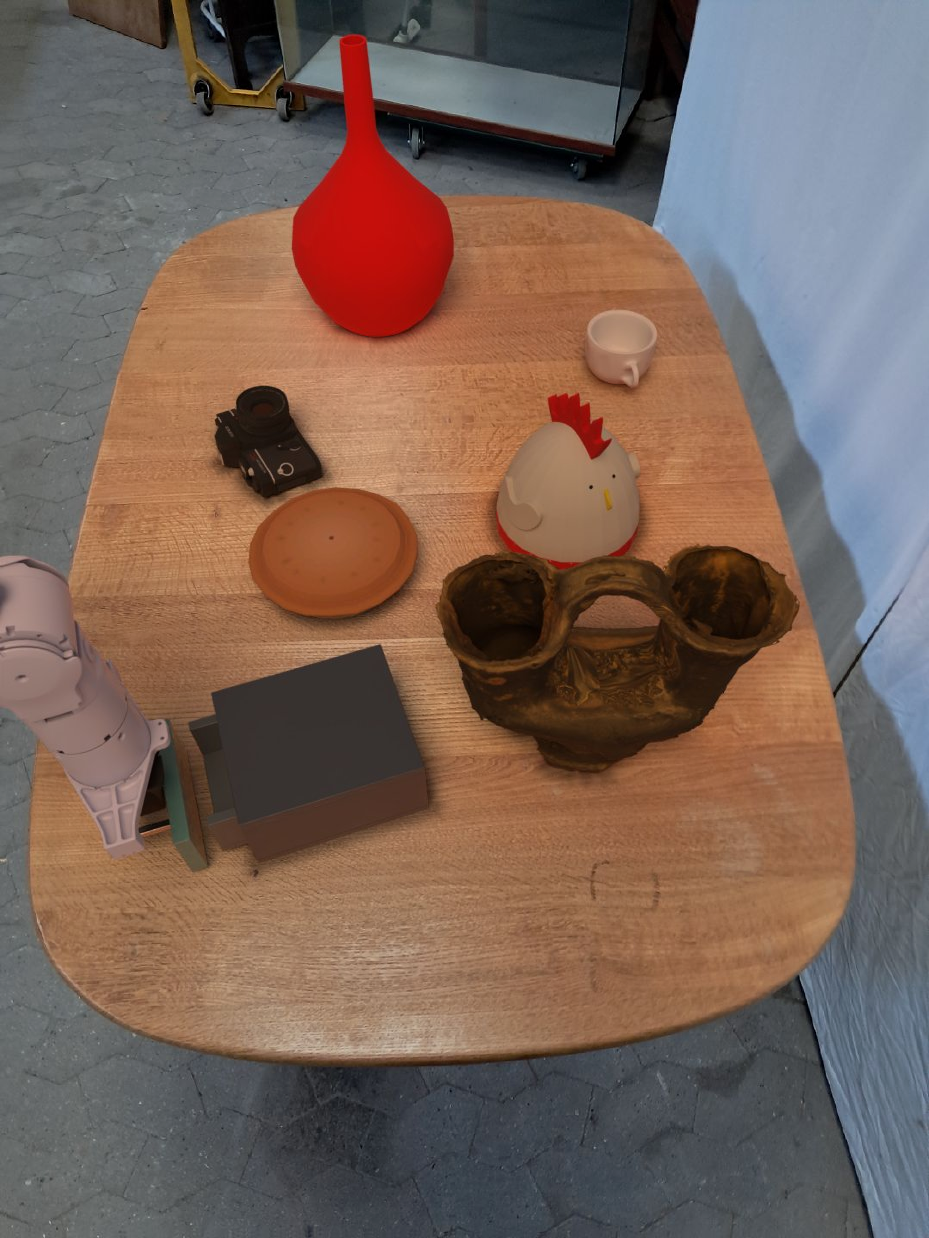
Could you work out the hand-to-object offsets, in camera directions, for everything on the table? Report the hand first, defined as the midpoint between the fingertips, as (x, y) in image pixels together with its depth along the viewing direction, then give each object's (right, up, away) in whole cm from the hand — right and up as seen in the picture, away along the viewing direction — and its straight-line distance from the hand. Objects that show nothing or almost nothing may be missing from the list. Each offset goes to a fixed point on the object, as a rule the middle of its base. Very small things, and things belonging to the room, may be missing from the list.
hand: (151, 804), depth 68 cm
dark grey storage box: (+12, +2, +5) cm, 14 cm away
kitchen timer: (+34, +24, +21) cm, 46 cm away
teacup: (+41, +41, +34) cm, 67 cm away
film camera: (+3, +31, +27) cm, 41 cm away
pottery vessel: (+34, +5, +8) cm, 36 cm away
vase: (+13, +51, +42) cm, 67 cm away
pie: (+12, +18, +18) cm, 28 cm away
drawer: (+5, 0, +3) cm, 6 cm away
